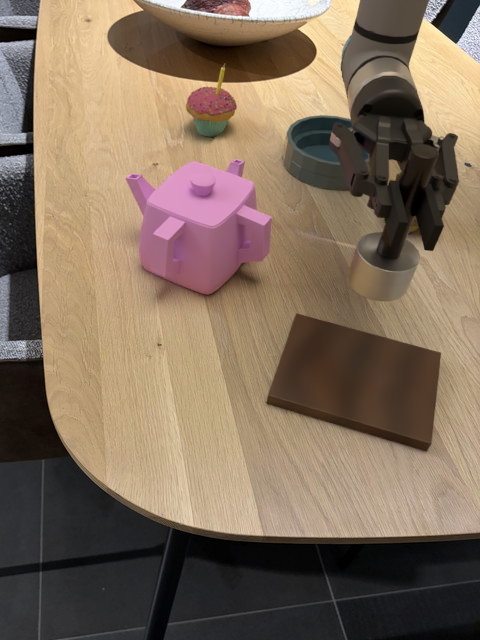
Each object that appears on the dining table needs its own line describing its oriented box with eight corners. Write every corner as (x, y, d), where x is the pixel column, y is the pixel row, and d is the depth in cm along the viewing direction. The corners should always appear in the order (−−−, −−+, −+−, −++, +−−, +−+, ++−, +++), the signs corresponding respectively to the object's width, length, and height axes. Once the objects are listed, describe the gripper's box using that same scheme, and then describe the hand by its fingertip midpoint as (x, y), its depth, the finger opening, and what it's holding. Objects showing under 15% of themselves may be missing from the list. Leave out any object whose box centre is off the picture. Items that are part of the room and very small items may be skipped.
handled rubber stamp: (411, 270, 66) (465, 142, 54) (403, 308, 62) (460, 178, 50) (353, 255, 67) (394, 126, 55) (342, 291, 63) (383, 160, 51)
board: (436, 360, 74) (441, 352, 73) (426, 451, 65) (431, 443, 64) (294, 321, 77) (296, 312, 76) (266, 403, 68) (268, 395, 67)
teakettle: (153, 307, 77) (153, 226, 68) (125, 227, 87) (121, 148, 78) (277, 286, 81) (293, 208, 71) (235, 212, 91) (245, 135, 82)
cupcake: (242, 129, 107) (250, 59, 98) (216, 148, 103) (222, 76, 93) (202, 113, 110) (206, 44, 101) (175, 131, 105) (177, 60, 96)
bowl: (380, 154, 104) (388, 127, 100) (366, 202, 95) (375, 173, 91) (293, 135, 107) (298, 107, 103) (272, 180, 97) (276, 151, 94)
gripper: (440, 145, 71) (486, 277, 56) (309, 134, 71) (320, 262, 56) (465, 81, 65) (524, 208, 50) (322, 68, 65) (338, 191, 50)
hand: (416, 236), depth 53 cm, fingers closed on handled rubber stamp, 2 cm apart
